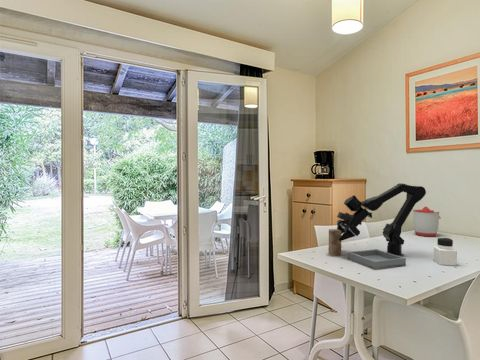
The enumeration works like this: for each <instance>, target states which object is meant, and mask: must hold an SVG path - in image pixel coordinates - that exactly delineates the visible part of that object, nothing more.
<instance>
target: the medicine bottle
mask: <svg viewBox="0 0 480 360" xmlns="http://www.w3.org/2000/svg"><path fill="white" fill-rule="evenodd" d="M453 244H454V240H453V239H452V238H449V237H438V238H437V246H433V262H435V263H436V264H438V265H440V266H452V267H453V266H455V267H456V266H457V263H458V262H457V260H458V259H457V255H458V254H457V253H458V252H457V250H456V249H455V248H454V247H453V246H454V245H453Z"/></svg>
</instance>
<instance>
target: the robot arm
mask: <svg viewBox="0 0 480 360" xmlns="http://www.w3.org/2000/svg"><path fill="white" fill-rule="evenodd" d="M401 193H405V194H406V198H405V200H404V202H403V204H402V205H401V208H400V209H399V211H398V213H397V214H396V216H395V218H394V219H393V221H391V223H386V224H385V226H384V228H383V229H382V235H383V238H385V240H386V242H387V245H386V246H387V249H386V250H387V251H386V252H387V253H390V254H394V255H397V256H400V257H402V256H405V254H404V253H402V245H404V244H405V239H403V237H401V234H402V228H403V225H404V224H405V221H406V220H407V219H408V218H409V216H410V213H411V212H412V211H413V210H414V207H415V205H416V204H417V203H419V202H420V201H422V199H423V198H424V197H425V196H426V194H427V191H426V188H425V187H424V186H420V185H410V184H406V183H397V184H396V185H394V186H392V187H391V188H389V189H387V190H385V191H384V192H383V193H380V194H379V195H376V196H372V197H370V198H366V199H364V201H361V200H360V199H359V198H357V196H356V195H352V196H350V197H348V198H346V199H345V200H344V202H343V204H344V205H345V206H346V208H347V209H348V210H350V211H351V212H354V213H352V214H350V213H348V212H345V213H343V212H341V211H339V212H338V214H337V216H336V217H337V218H338V220H337V221H336V225H337V227H336V229H339V230H341V237H340V239H339V241H341V242H342V241H344V240H345V241H346V240H348V239H351V238H354V237H358V236H359V235H360V234H361V231H360V229H359V228H357V227H358V226H362V222H364V220H365V219H367V217H368V218H370V219H372V218H373V212H375V211H377V210H378V209H379V208H381V207H382V206H383V204H384V203H385V202H387V201H389V200H390V199H393V198H394V197H396V196H397V195H399V194H401ZM370 211H372V212H370Z"/></svg>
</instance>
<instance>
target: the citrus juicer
mask: <svg viewBox="0 0 480 360" xmlns="http://www.w3.org/2000/svg"><path fill="white" fill-rule="evenodd" d="M412 212H413V213H412V215H413V216H412V221H413V222H412V224H413V225H412V226H413V230H414V232H415V233H414V234H415V235H417V236H421V237H436V235H438V230H439V225H440V222H439V220H440V219H442V217H441V216H440V211H437V212H436V211H435V210H431V209H430V208H429V207H428V206H424V207H423V208H422V209H412Z"/></svg>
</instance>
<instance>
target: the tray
mask: <svg viewBox="0 0 480 360" xmlns="http://www.w3.org/2000/svg"><path fill="white" fill-rule="evenodd" d="M406 259H407V258H406V257H403V256H397V255H394V254H390V253H387V251H384V250H381V249H377V248H374V249H365V250H363V249H362V250H354V251H353V250H352V251H347V260H348V261H352V262H354V263H356V264H359V265H361V266H363V267H366V268H369V269H372V270H373V271H375V270H383V269H384V270H385V269H392V268H397V267H399V268H400V267H405V266H406V265H407V264H406V262H407V260H406Z"/></svg>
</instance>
